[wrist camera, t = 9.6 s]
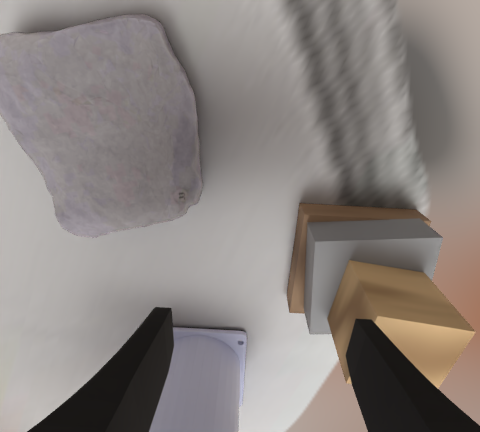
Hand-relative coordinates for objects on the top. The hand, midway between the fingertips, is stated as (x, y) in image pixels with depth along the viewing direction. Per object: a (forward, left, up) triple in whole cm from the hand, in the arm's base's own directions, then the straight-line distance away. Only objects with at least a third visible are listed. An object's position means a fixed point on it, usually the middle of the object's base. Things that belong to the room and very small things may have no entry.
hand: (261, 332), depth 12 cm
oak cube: (-3, -7, -6) cm, 10 cm away
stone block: (+6, +9, -11) cm, 15 cm away
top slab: (-2, -7, -9) cm, 11 cm away
